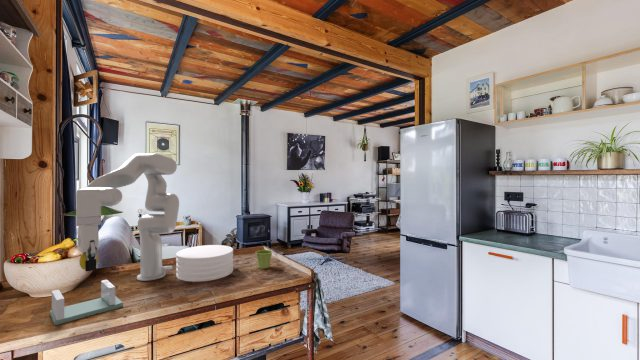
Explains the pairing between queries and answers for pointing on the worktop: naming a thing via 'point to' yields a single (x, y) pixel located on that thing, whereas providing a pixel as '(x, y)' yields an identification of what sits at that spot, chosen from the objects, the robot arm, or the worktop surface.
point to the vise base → (78, 308)
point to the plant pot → (263, 258)
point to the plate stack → (204, 263)
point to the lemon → (83, 259)
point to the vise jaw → (108, 292)
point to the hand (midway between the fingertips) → (88, 268)
